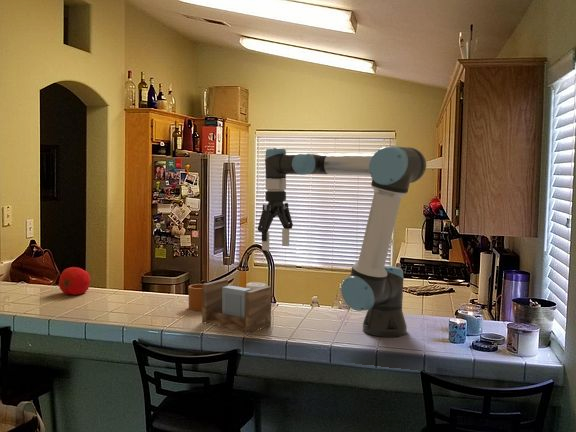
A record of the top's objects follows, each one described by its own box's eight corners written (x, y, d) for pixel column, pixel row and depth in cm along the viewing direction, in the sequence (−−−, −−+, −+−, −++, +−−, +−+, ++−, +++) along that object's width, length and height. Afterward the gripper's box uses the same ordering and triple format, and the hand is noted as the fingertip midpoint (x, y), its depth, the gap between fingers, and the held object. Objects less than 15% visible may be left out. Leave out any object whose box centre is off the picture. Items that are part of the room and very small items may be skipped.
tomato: (80, 297, 261) (61, 304, 249) (66, 272, 262) (46, 278, 249) (101, 283, 258) (82, 290, 245) (86, 258, 258) (67, 264, 246)
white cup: (263, 312, 228) (263, 286, 227) (243, 310, 230) (244, 285, 229) (268, 307, 236) (268, 282, 235) (249, 306, 237) (249, 281, 237)
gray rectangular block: (251, 321, 211) (251, 288, 210) (243, 324, 207) (244, 291, 206) (229, 317, 216) (229, 285, 215) (221, 319, 212) (221, 287, 211)
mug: (213, 312, 227) (213, 289, 226) (184, 310, 230) (184, 288, 229) (222, 306, 235) (221, 284, 234) (194, 304, 238) (193, 283, 237)
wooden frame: (270, 325, 210) (271, 286, 209) (250, 332, 201) (250, 292, 199) (223, 315, 223) (223, 278, 221) (202, 322, 213) (202, 284, 212)
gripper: (285, 189, 228) (285, 243, 229) (247, 191, 207) (247, 251, 208) (301, 189, 224) (301, 244, 226) (265, 191, 203) (265, 252, 204)
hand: (275, 248), depth 217 cm, fingers open, 13 cm apart
